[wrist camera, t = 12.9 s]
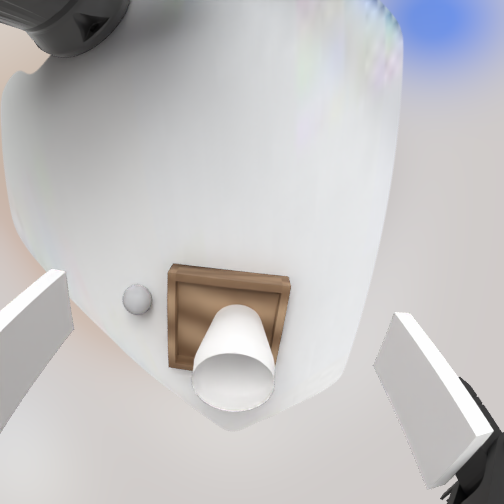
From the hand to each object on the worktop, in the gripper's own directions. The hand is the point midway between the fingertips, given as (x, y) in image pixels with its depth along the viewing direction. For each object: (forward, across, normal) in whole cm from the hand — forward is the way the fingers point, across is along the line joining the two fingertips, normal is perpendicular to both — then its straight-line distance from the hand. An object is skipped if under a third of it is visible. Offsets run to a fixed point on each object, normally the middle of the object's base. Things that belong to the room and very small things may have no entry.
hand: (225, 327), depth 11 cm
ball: (+28, -12, -15) cm, 34 cm away
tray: (+27, 0, -17) cm, 32 cm away
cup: (+26, +2, -17) cm, 32 cm away
